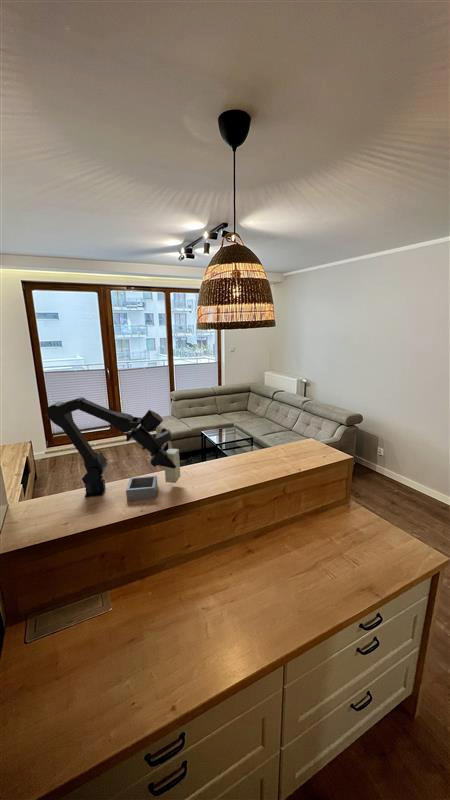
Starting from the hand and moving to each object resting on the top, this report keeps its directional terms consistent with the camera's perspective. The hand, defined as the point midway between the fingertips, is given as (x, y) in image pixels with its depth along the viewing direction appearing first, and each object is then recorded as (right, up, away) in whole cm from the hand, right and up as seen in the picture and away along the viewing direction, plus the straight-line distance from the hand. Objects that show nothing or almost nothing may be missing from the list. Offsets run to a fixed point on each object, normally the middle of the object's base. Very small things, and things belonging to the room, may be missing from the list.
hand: (175, 463), depth 129 cm
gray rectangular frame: (-13, -11, -2) cm, 17 cm away
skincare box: (-1, -7, +1) cm, 7 cm away
